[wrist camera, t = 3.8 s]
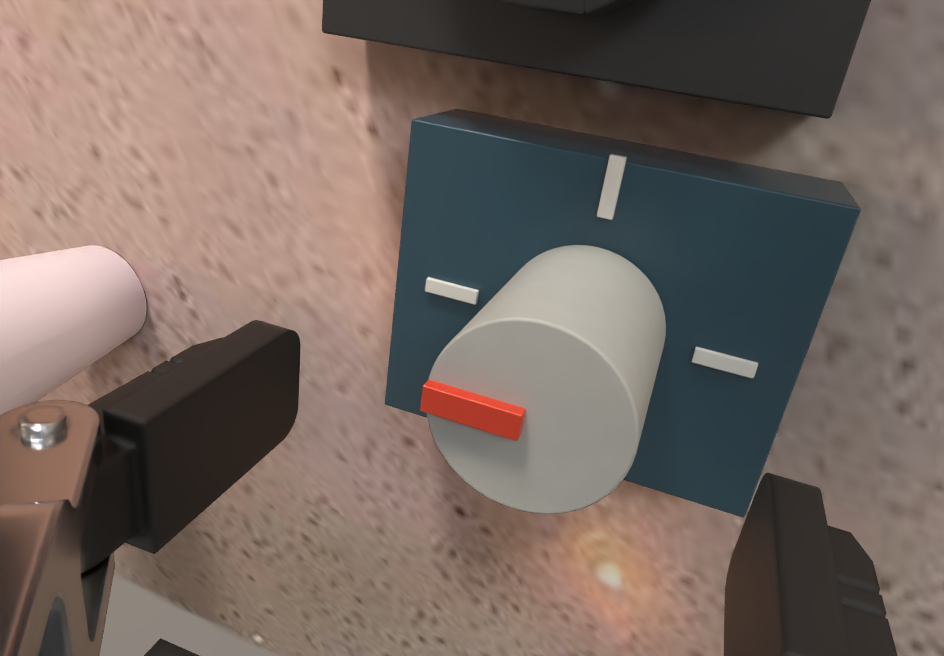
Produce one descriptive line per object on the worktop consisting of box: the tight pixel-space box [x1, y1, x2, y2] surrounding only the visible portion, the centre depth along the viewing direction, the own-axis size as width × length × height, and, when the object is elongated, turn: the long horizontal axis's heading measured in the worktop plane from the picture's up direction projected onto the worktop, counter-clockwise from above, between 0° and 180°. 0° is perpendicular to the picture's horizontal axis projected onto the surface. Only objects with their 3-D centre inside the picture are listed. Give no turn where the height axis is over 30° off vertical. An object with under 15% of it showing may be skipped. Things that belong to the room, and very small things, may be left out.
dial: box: [420, 245, 666, 514], centre depth 15 cm, size 4×4×5 cm
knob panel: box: [385, 109, 861, 517], centre depth 18 cm, size 10×8×3 cm
